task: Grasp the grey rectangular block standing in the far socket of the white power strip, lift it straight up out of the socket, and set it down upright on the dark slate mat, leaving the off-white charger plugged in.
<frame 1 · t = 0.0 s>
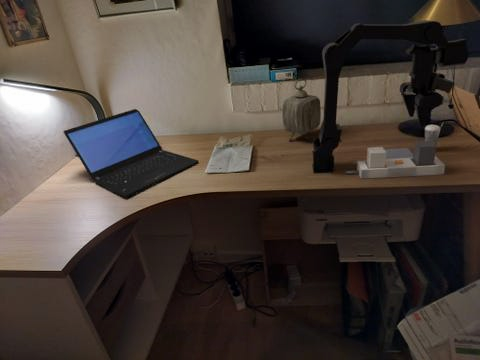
hand: (416, 121, 102), 15 cm above the table, fingers open, 9 cm apart
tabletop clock: (303, 139, 141), on the table
slate mat: (396, 155, 115), on the table
milkshake: (430, 150, 116), on the table
power strip: (398, 171, 105), on the table
grey rectangular block: (421, 170, 104), resting in power strip
white charger: (375, 172, 106), resting in power strip
laptop: (139, 170, 133), on the table
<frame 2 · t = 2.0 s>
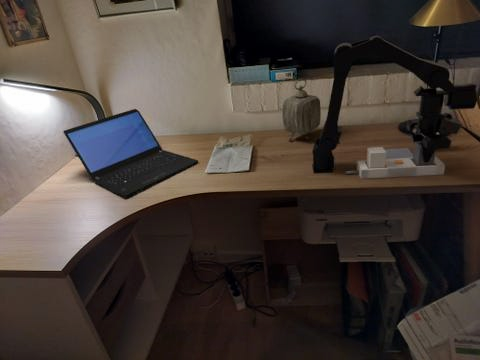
hand: (423, 159, 102), 4 cm above the table, fingers closed on grey rectangular block, 4 cm apart
grey rectangular block: (421, 170, 104), resting in power strip, touching gripper
everything else where it was.
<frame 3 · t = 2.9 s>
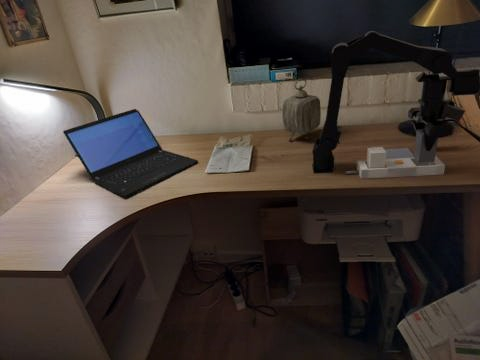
hand: (425, 147, 101), 8 cm above the table, fingers closed on grey rectangular block, 4 cm apart
grey rectangular block: (423, 159, 102), point 4 cm above the table, touching gripper
everything else where it was.
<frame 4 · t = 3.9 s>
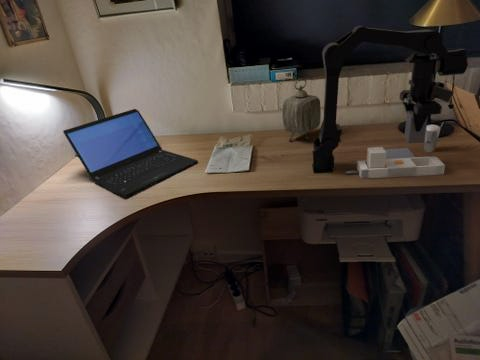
hand: (415, 128, 103), 12 cm above the table, fingers closed on grey rectangular block, 4 cm apart
grey rectangular block: (413, 140, 105), point 8 cm above the table, touching gripper
everything else where it was.
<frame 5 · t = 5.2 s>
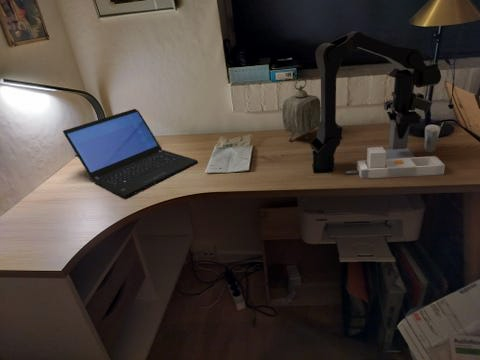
hand: (398, 136, 112), 7 cm above the table, fingers closed on grey rectangular block, 4 cm apart
grey rectangular block: (397, 146, 114), point 3 cm above the table, touching gripper
everything else where it was.
when the fingers open (6 cm above the table, at t = 6.2 s): grey rectangular block drops 2 cm, resting on slate mat.
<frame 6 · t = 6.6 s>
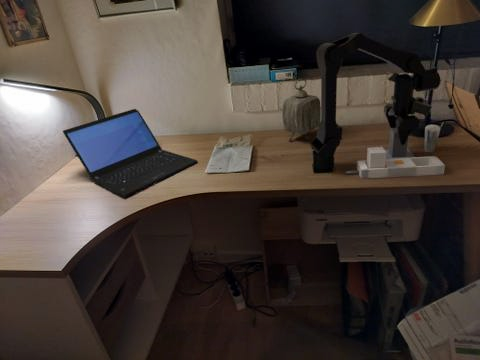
hand: (398, 139, 113), 6 cm above the table, fingers open, 9 cm apart
grey rectangular block: (397, 154, 115), resting on slate mat
everything else where it was.
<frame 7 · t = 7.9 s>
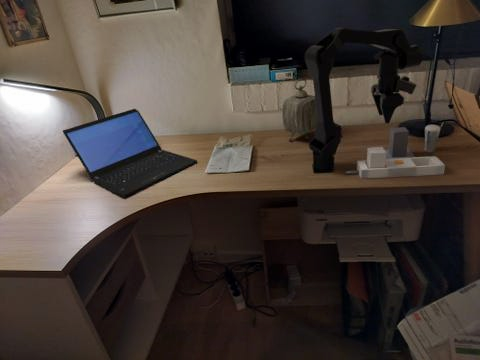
hand: (384, 119, 113), 13 cm above the table, fingers open, 9 cm apart
nothing on the table moved.
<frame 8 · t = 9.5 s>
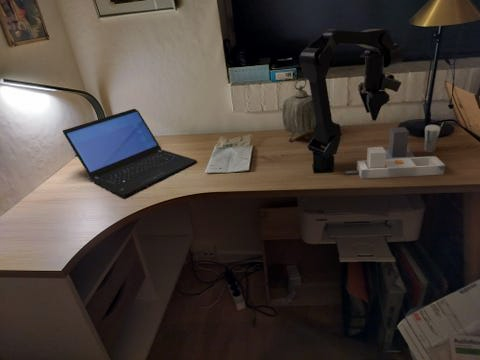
hand: (371, 116, 116), 13 cm above the table, fingers open, 9 cm apart
nothing on the table moved.
at the end: grey rectangular block inside the target area on the slate mat (0.0 cm from its centre), point 0.5 cm above the slate mat's base; grey rectangular block tilted 0°; white charger moved 0.1 cm from its start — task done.
